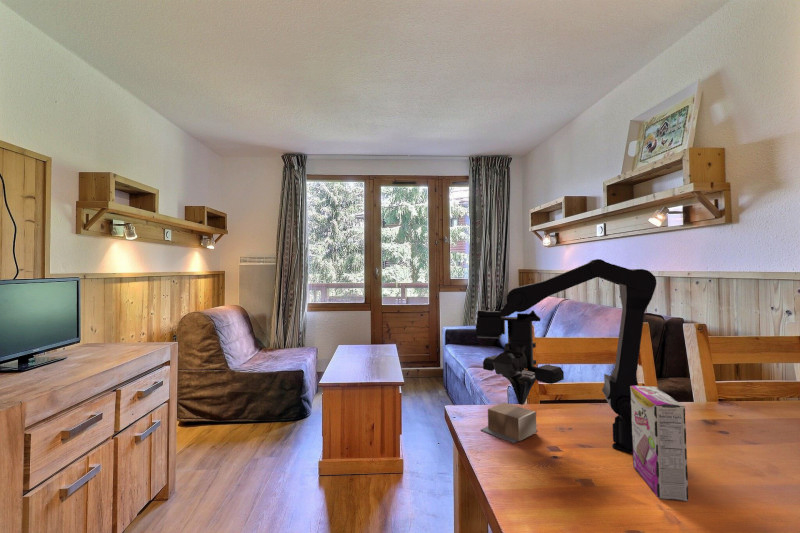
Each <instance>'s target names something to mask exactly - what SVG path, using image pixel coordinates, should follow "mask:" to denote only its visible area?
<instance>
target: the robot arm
mask: <svg viewBox="0 0 800 533" xmlns="http://www.w3.org/2000/svg"><path fill="white" fill-rule="evenodd" d="M596 278H599V279H601V280H605V281H607V282H610V283H612V284H615V285H617V286H618V288H619V297H620V302H621V303H620V304H621V308H622V309H621V317H620V319H621V320H620V325H619V334H618V341H617V350H616V356H615V363H614V364H615V365H614V368H613V371H612V373H611V375H609V374H607V373H604V374H603V377H604V378H603V379H604V380H603V381H604V382H603V383H604V384H603V387H602V389H601V391H602V393H603V395H604V398H605V400H606V402H607V403H608V405H609V407H610V409H611V410H612V411H613V412H614V413H615V414H616V415H617V416H615V417H614V422H613V423H612V441H613V444H611V446H612V448H614V449H616V450H620V451H623V452H625V453H630V454H632V455H633V439H632V415H631V390H630V386H639V381H638V375H637V374H638V366H639V358H640V349H641V341H642V335H643V328H644V320H645V312H646V310H647V308H648V306H649V305H650V303H651V301H652V299H653V296H654V294H655V290H656V288H657V283H658V282H657V277H656V276H655V275H654V274H653V273H652V272H651V271H649V270H647V269H644V268H636V269H635V268H634V269H633V268H632V269H631V268H627V267H624V266H620V265H617V264H613V263H610V262H607V261H605V260H604V259H598V258H597V259H592V260H590V261H587V263H585V264H582V265H579V266H577V267H575V268H573V269H569V270H567V271H565V272H563V273H559V274H558V275H555V276H553V277H549V278H548V279H546V280H543V281H538V282H535V283H529V284H524V285H521V286H516V287H513V288H512V289H510V291H509V292H508V293H507V295H506V303H505V304H504V306H501V308H500V311H497V310H495V311H494V310H483V309H479V310H478V311H477V316H476V324H475V333H476V337H477V338H479V339H501V336H502V335H506V321H507V342H506V343H504V346H503V348H504V350H503V351H502V352H500V353H499V354H498V355H496V354H495V355H491V356H487V357H485V358H484V359H483V361H482V369H483V370H486V371H488V372H489V371H490V372H495V374H496V375H502V377H503V378H505V379H506V380H508V381H509V382H510V385H511V387H512V390H513V392H514V394H515V397H516V400H517V402H518V405H521V406H523V405H525V403H526V401H527V399H528V396H529V394H530V393H531V392H530V391H531V390H532V387H533V386H534V384H535V382H536V381H537V382H540V383H544V384H548V385H550V384H556V383H558V382H561V381H563V380H565V375H564V373H565V372H564V371H563V369H562V367H561V366H557V365H551V364H545V365H542V366H535V365H537V360H536V359H534V348H536V347H537V346H536V345H537V344H536V342H534V340H533V339H534V338H533V337H534V336H533V333H534V332H533V322H540V321H541V317H540V316H539V315H538V314H537V313H536V311H535V310H534V309H533V310H531V311H530V312H529V313H524V312H525V311H528V310H529V309H531V308H533V307H534V306H536V305H537V304H539V303H540V302H542V301H544V299H546V298H548V297H550V296H553V295H555V294H557V293H560V292H562V291H563V292H564V291H565V290H568V289H570V288H572V287H575V286H578V285H580V284H584V283H586V282H588V281H591V280H593V279H596ZM515 312H516V313H517V314H516V316H511V315H512V314H514V313H515ZM522 312H523V313H522Z"/></svg>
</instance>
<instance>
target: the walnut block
mask: <svg viewBox="0 0 800 533" xmlns="http://www.w3.org/2000/svg"><path fill="white" fill-rule="evenodd" d="M487 426H488V429H489V430H492V431H495V432H497V433H500V434H503V435H505V436H508V437H511V438H514V439H516V440H519V441H518V442H520V441H523V440H525V439H526V438H528V437H530V436H532V435H534V434H537V431H536V430H537V412H536V411H534V410H531V409H527V408H524V407H521V406H517V405H514V404H511V403H507V402H502V403H500V404H497V405H494V406H492V407H489V408H487Z"/></svg>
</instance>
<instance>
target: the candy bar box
mask: <svg viewBox="0 0 800 533" xmlns="http://www.w3.org/2000/svg"><path fill="white" fill-rule="evenodd" d="M630 390H631V415H632V439H633V454H632V461H633V462H632V465H633V468H634V470H635V471H636V472H637V473H638V474H639V476H640V477H641V478H642V479H643V481H644V482H645V483H646V485H648V488H650V489H651V491H652V492H653V494H654V495H656V497H657V498H658V499H659V500H663V501H678V502H689V478H688V477H689V474H688V452H687V451H688V450H687V449H688V448H687V427H686V426H687V425H686V424H687V423H686V405H684V404H682V403H681V402H680V401H678V400H676V399H675V398H673V397H672V396H670V395H669V394H667V392H664V391H663V390H662V389H660V388H659V387H658V386H650V385H638V386H630Z"/></svg>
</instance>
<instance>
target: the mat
mask: <svg viewBox="0 0 800 533" xmlns="http://www.w3.org/2000/svg"><path fill="white" fill-rule="evenodd" d="M480 431H481V432H483V433H486V434H489V435H491V436H493V437H497V438H500V439H501V440H504V441H507V442H510V443H512V444H515V443H517V442H520V441H519V440H516V439H514V438H511V437H508V436H505V435H503V434H500V433H497V432H495V431H492V430H489V429H488V425H487V426H486V427H483V428H481V429H480ZM536 432H538V429H536Z"/></svg>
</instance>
